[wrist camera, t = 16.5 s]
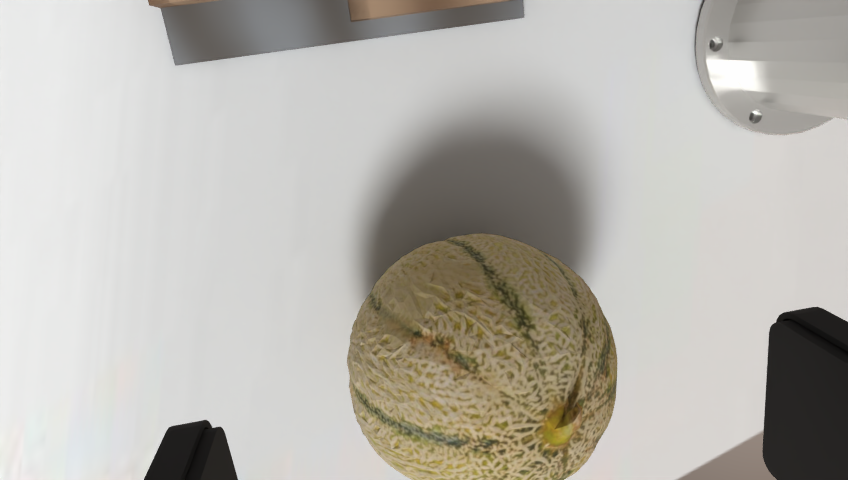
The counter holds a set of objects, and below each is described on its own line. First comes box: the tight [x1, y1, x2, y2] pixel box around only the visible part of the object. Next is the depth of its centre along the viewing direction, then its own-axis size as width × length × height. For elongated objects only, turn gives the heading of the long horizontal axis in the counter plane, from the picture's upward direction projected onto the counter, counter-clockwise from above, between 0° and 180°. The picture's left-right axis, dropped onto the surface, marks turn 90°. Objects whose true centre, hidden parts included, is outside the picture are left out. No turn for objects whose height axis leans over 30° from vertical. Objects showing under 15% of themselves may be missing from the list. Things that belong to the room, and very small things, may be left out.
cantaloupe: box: [347, 233, 617, 480], centre depth 33 cm, size 15×15×15 cm
